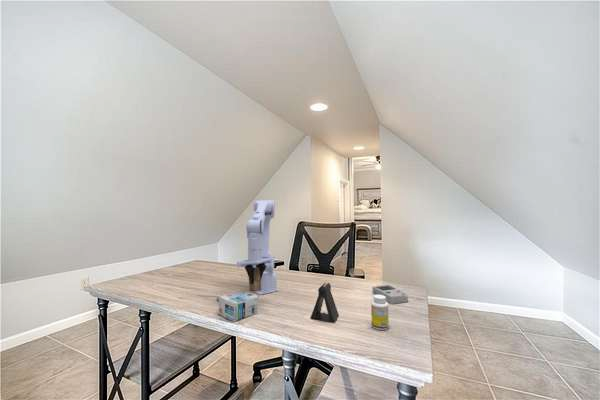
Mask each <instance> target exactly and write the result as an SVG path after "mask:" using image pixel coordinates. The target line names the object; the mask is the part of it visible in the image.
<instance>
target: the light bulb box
mask: <svg viewBox="0 0 600 400" xmlns="http://www.w3.org/2000/svg"><path fill="white" fill-rule="evenodd" d="M218 298H219V302H218V314H219V315H220V316H222V317H224V318H226V319H227V320H230V321H231V322H237V321H239V320H242V319H246V318H248V317H251V316H254V315H257V314H258V313H259V311H258V310H259V309H258V307H259V306H258V305H259V304H258V303H259V297H258V295H255V294H252V293H250V292H249V291H248V292H247V291H245V290H239V291H236V292H233V293H232V292H231V293H227V294H224V295H220V296H219V297H218Z"/></svg>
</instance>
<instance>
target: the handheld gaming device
mask: <svg viewBox="0 0 600 400" xmlns="http://www.w3.org/2000/svg"><path fill="white" fill-rule="evenodd" d="M371 291H372V294H373V295H383V296H385V297H386V302H387V303H388V304H391V305H396V304H402V303H403V304H405V303H407V302H408V300H409V299H408V298H409V296H408V294H407V293H405V292H404V291H403V290H400V289H398V288H396V287H394V286H392V285H390V284H386V285H385V284H384V285H374V286H372V290H371Z"/></svg>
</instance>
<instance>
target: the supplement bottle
mask: <svg viewBox="0 0 600 400" xmlns="http://www.w3.org/2000/svg"><path fill="white" fill-rule="evenodd" d="M370 306H371V327H372V328H374V329H375V330H379V331H385V330H386V331H387V330H388V329H389V327H390V321H389V319H390V318H389V317H390V316H389V315H390V314H389V312H390V311H389V302H387V301H386V297H385V296H383V295H375V294H373V300H372V301H371V305H370Z"/></svg>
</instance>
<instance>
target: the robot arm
mask: <svg viewBox="0 0 600 400" xmlns="http://www.w3.org/2000/svg"><path fill="white" fill-rule="evenodd" d="M275 205H276V204H275V201H274V199H272V200H271V199H270V200H269V199H266V200H264V199H263V200H258V199H256V200H254V201H253V211H254V212H253V213H252V215H251V218H250V219H249V220H247V221H246V225H245V228H246V229H245V230H246V238H247V259H246V260H241V261H240V260H239V261H237V262H236V267H237V268H242V267H244V270H245V271H246V273H247V276H248V282H249V281H250V284H253V283H254V269H255V268H256V267H259V270H260V281H261V291H253V292H255V293H256V294H257V295H259V296H261V295H265V294H268V293H269V294H270V293H274V292H278V289H277V274H276V272H275V271H274V269H275V258H274V257H275V256H274V255H273V254H272V253H271V252H270V251H269V250H270V247H269V246H270V223H271V219H273V218H275V210H276V209H275V207H276V206H275Z"/></svg>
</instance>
